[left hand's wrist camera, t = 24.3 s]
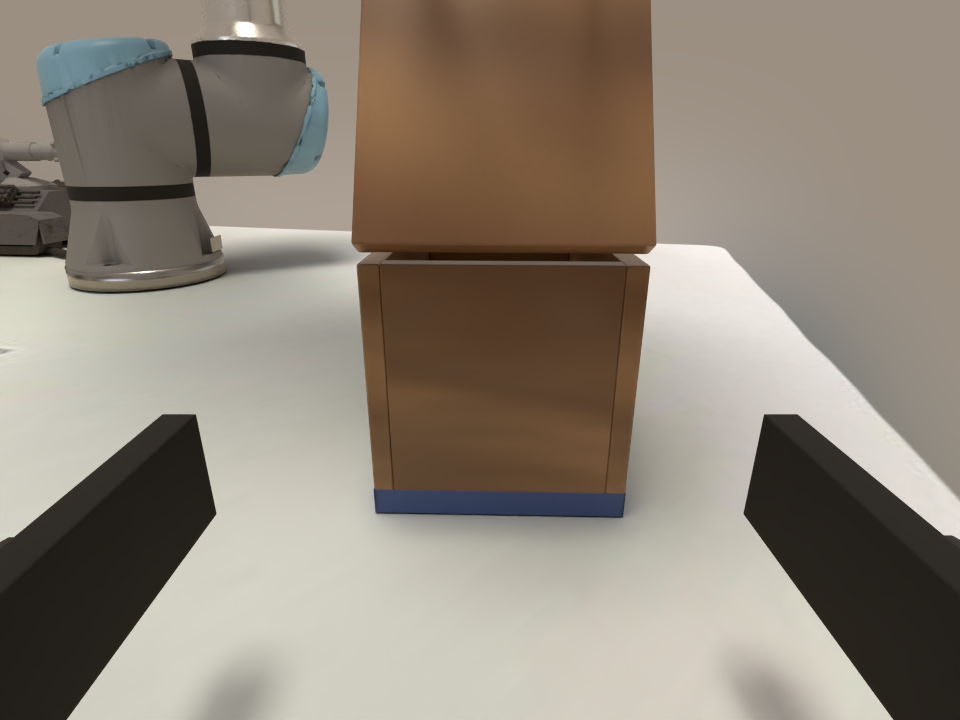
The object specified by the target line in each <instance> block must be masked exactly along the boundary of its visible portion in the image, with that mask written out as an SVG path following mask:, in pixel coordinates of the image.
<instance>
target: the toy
mask: <svg viewBox="0 0 960 720" xmlns="http://www.w3.org/2000/svg"><path fill="white" fill-rule="evenodd" d="M40 160H48V161H52V160H54V161H55V162H59V158H58V154H57V150H56V146H55V142H50V143H42V144H37V143H34V142H9V141H7V140H5V139H2V138H0V254H20V255H37V254H42V253H47V252H46V250H47V248H48V247H54V248H58V249H60V248H61V246H62V241H64V240H68V235H69V227H70V218H71V206H70V202H69V197H68V194H67V190H66V186H65V182H61V181H60V180H55V181H53V182H49V181H45V180H41V179H37V178H32V177H29V176H30V174H31V171H29V170H28V169H27V168H25V167H24V166H22V165H21V164H20V163H18V162H17V161H40Z"/></svg>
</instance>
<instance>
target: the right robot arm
mask: <svg viewBox="0 0 960 720" xmlns="http://www.w3.org/2000/svg"><path fill="white" fill-rule="evenodd" d="M200 5H201V11H202V18H203V27H202V28H201V29H200V31H199V32H198V33H197V34H196V36H195V37H194V38H193V39H192V40H191V48H192V54H193V60H181V59H173V58H171V57H172V51H171V50H170V49H169V47H168V45H167V44H166V43H165V42H163V41H161V40H157V39H143V38H136V37H114V38H95V39H83V40H74V41H68V42H63V43H58V44H54V45H51V46H49V47H47V48H45V49H43V50H42V51H41V52H40V53H39V55H38V57H37V60H36V68H37V73H38V78H39V83H40V88H41V93H42V99H41V103H42V106H46V110H47V113H48V118H49V122H50V125H51V130H52V134H53V138H54V142H55V146H56V150H57V154H58V158H59V162H60V166H61V170H62V174H63V178H64V182H65V186H66V190H67V194H68V197H69V202H70V206H71V218H70V227H69V236H68V245H67V250H63V249H58V248H54V247H48V248H47V250H46V252H47V253H50V254H53V255H57V256H62V257H66V262H65V264H66V265H65V270H66V274H67V277H68V281H69V285H70V286H71V287H73V288H76V289H80V290H87V291H103V292H116V291H138V290H150V289H160V288H168V287H175V286H181V285H187V284H192V283H197V282H201V281H205V280H208V279H212V278H215V277H217V276H219V275H221V274H223V273H224V272H225V271H226V267H225V261H224V255H223V253H222V251H221V249H222V248H223V247H222V241H221V235H218V236H216V237H214V236H213V234H212V232H211V230H210V228H209V226H208V224H207V222H206V220H205V219H204V217H203V215H202V213H201V211H200V209H199V207H198V204H197V201H196V196H195V191H194V185H193V177H218V176H275V177H280V176H282V175H290V174H303V173H307V172H309V171H311V170H312V169H314V168H315V166H316V165H317V164H318V162H319V160H320V158H321V156H322V153H323V150H324V147H325V142H326V137H327V130H328V96H327V91H326V89H325V82H324V80H323V77H322V76H321V74H320V73H319V72H317V71H316V70H314V69H312V68H306V61H305V51H304V48H303V47H302V46H301V44H300V43H299V42H298V41H297V40H296V39H295V38H294V37H293V36H292V35H291V34H290V32H289V30H288V23H287V13H286V4H285V0H200Z"/></svg>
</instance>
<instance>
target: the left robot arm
mask: <svg viewBox="0 0 960 720" xmlns="http://www.w3.org/2000/svg"><path fill="white" fill-rule="evenodd" d="M215 515H216V509H215V505H214V500H213V495H212V490H211V485H210V481H209V476H208V471H207V466H206V461H205V456H204V452H203V447H202V442H201V437H200V432H199V428H198V423H197V418H196V414H163V415H161V416H160V417H159V418H158V419H157V420H155V421H154V422H153V423H152V424H150V425H149V426H148V427H147V428H146V429H144V430H143V431H142V432H141V433H140V434H138V435H137V436H136V437H135V438H134V439H132V440H131V441H130V442H129V443H127V444H126V445H125V446H124V447H123V448H121V449H120V450H119V451H118V452H117V453H115V454H114V455H113V456H112V457H111V458H109V459H108V460H107V461H106V462H105V463H103V464H102V465H101V466H100V467H98V468H97V469H96V470H95V471H94V472H92V473H91V474H90V475H89V476H88V477H86V478H85V479H84V480H83V481H82V482H80V483H79V484H78V485H77V486H75V487H74V488H73V489H72V490H71V491H69V492H68V493H67V494H66V495H65V496H63V497H62V498H61V499H60V500H59V501H57V502H56V503H55V504H54V505H52V506H51V507H50V508H49V509H48V510H46V511H45V512H44V513H43V514H42V515H40V516H39V517H38V518H37V519H36V520H34V521H33V522H32V523H31V524H29V525H28V526H27V527H26V528H25V529H23V530H22V531H21V532H20V533H19V534H17V535H16V536H15V537H9V538H7V539H5V540H3V541H1V542H0V720H67V718H68V717H69V716H70V714H71V713H72V712H73V710H74V709H75V707H76V706H77V705H78V703H79V702H80V701H81V699H82V698H83V696H84V695H85V694H86V692H87V691H88V690H89V688H90V687H91V685H92V684H93V683H94V681H95V680H96V679H97V677H98V676H99V674H100V673H101V672H102V670H103V669H104V668H105V666H106V665H107V663H108V662H109V661H110V659H111V658H112V657H113V655H114V654H115V652H116V651H117V650H118V648H119V647H120V646H121V644H122V643H123V642H124V640H125V639H126V637H127V636H128V635H129V633H130V632H131V631H132V629H133V628H134V626H135V625H136V624H137V622H138V621H139V620H140V618H141V617H142V615H143V614H144V613H145V611H146V610H147V609H148V607H149V606H150V604H151V603H152V602H153V600H154V599H155V598H156V596H157V595H158V593H159V592H160V591H161V589H162V588H163V587H164V585H165V584H166V582H167V581H168V580H169V578H170V577H171V576H172V574H173V573H174V572H175V570H176V569H177V567H178V566H179V565H180V563H181V562H182V561H183V559H184V558H185V556H186V555H187V554H188V552H189V551H190V550H191V548H192V547H193V545H194V544H195V543H196V541H197V540H198V539H199V537H200V536H201V534H202V533H203V532H204V530H205V529H206V528H207V526H208V525H209V523H210V522H211V521H212V519H213V518H214V517H215ZM744 515H745V517H746V518H747V519H748V521H749V522H750V523H751V525H752V526H753V528H754V529H755V530H756V532H757V533H758V534H759V536H760V537H761V539H762V540H763V541H764V543H765V544H766V545H767V547H768V548H769V550H770V551H771V552H772V554H773V555H774V556H775V558H776V559H777V561H778V562H779V563H780V565H781V566H782V567H783V569H784V570H785V572H786V573H787V574H788V576H789V577H790V578H791V580H792V581H793V583H794V584H795V585H796V587H797V588H798V589H799V591H800V592H801V593H802V595H803V596H804V598H805V599H806V600H807V602H808V603H809V604H810V606H811V607H812V609H813V610H814V611H815V613H816V614H817V615H818V617H819V618H820V620H821V621H822V622H823V624H824V625H825V626H826V628H827V629H828V631H829V632H830V633H831V635H832V636H833V637H834V639H835V640H836V642H837V643H838V644H839V646H840V647H841V648H842V650H843V651H844V653H845V654H846V655H847V657H848V658H849V659H850V661H851V662H852V663H853V665H854V666H855V668H856V669H857V670H858V672H859V673H860V674H861V676H862V677H863V679H864V680H865V681H866V683H867V684H868V685H869V687H870V688H871V690H872V691H873V692H874V694H875V695H876V696H877V698H878V699H879V701H880V702H881V703H882V705H883V706H884V707H885V709H886V710H887V712H888V713H889V714H890V716H891V717H892V718H893V720H960V540H959V539H957V538H956V537H954V536H944V535H943V534H941V533H940V532H939V531H938V530H937V529H935V528H934V527H933V526H932V525H931V524H929V523H928V522H927V521H926V520H924V519H923V518H922V517H921V516H920V515H918V514H917V513H916V512H915V511H914V510H912V509H911V508H910V507H909V506H908V505H906V504H905V503H904V502H903V501H901V500H900V499H899V498H898V497H897V496H895V495H894V494H893V493H892V492H891V491H889V490H888V489H887V488H886V487H885V486H883V485H882V484H881V483H880V482H878V481H877V480H876V479H875V478H874V477H872V476H871V475H870V474H869V473H868V472H866V471H865V470H864V469H863V468H862V467H860V466H859V465H858V464H857V463H855V462H854V461H853V460H852V459H851V458H849V457H848V456H847V455H846V454H845V453H843V452H842V451H841V450H840V449H839V448H837V447H836V446H835V445H834V444H833V443H831V442H830V441H829V440H828V439H826V438H825V437H824V436H823V435H822V434H820V433H819V432H818V431H817V430H816V429H814V428H813V427H812V426H811V425H810V424H808V423H807V422H806V421H805V420H803V419H802V418H801V417H800V416H799V415H797V414H764V418H763V423H762V428H761V432H760V437H759V442H758V447H757V452H756V456H755V461H754V466H753V471H752V476H751V481H750V485H749V490H748V495H747V500H746V505H745V509H744Z"/></svg>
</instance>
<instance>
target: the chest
mask: <svg viewBox="0 0 960 720" xmlns="http://www.w3.org/2000/svg"><path fill="white" fill-rule="evenodd" d="M649 274H650V266H649V265H648V264H646V263H645V262H644V261H642V260H641V259H639V258H638V257H637V256H635V255H634V254H581V253H407V252H372V253H371V254H370V255H368V256H367V257H366V258H365V259H363V260H362V261H361V262H360V263H358V264H357V276H358V289H359V301H360V314H361V326H362V339H363V351H364V364H365V377H366V389H367V402H368V414H369V427H370V439H371V452H372V464H373V477H374V499H375V511H376V512H391V513H447V514H502V515H558V516H614V517H623V510H624V502H625V487H626V478H627V469H628V460H629V451H630V442H631V434H632V425H633V416H634V407H635V398H636V389H637V380H638V372H639V363H640V354H641V345H642V336H643V327H644V318H645V310H646V301H647V292H648V283H649Z"/></svg>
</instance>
